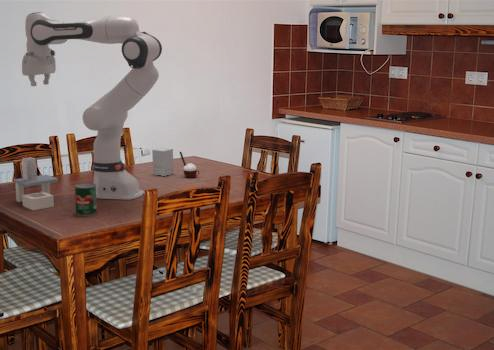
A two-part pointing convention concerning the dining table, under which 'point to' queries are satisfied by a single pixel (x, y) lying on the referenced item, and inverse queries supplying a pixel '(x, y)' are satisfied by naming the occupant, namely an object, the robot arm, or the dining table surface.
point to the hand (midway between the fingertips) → (40, 85)
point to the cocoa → (189, 168)
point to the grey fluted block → (162, 161)
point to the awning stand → (36, 199)
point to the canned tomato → (85, 199)
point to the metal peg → (29, 169)
